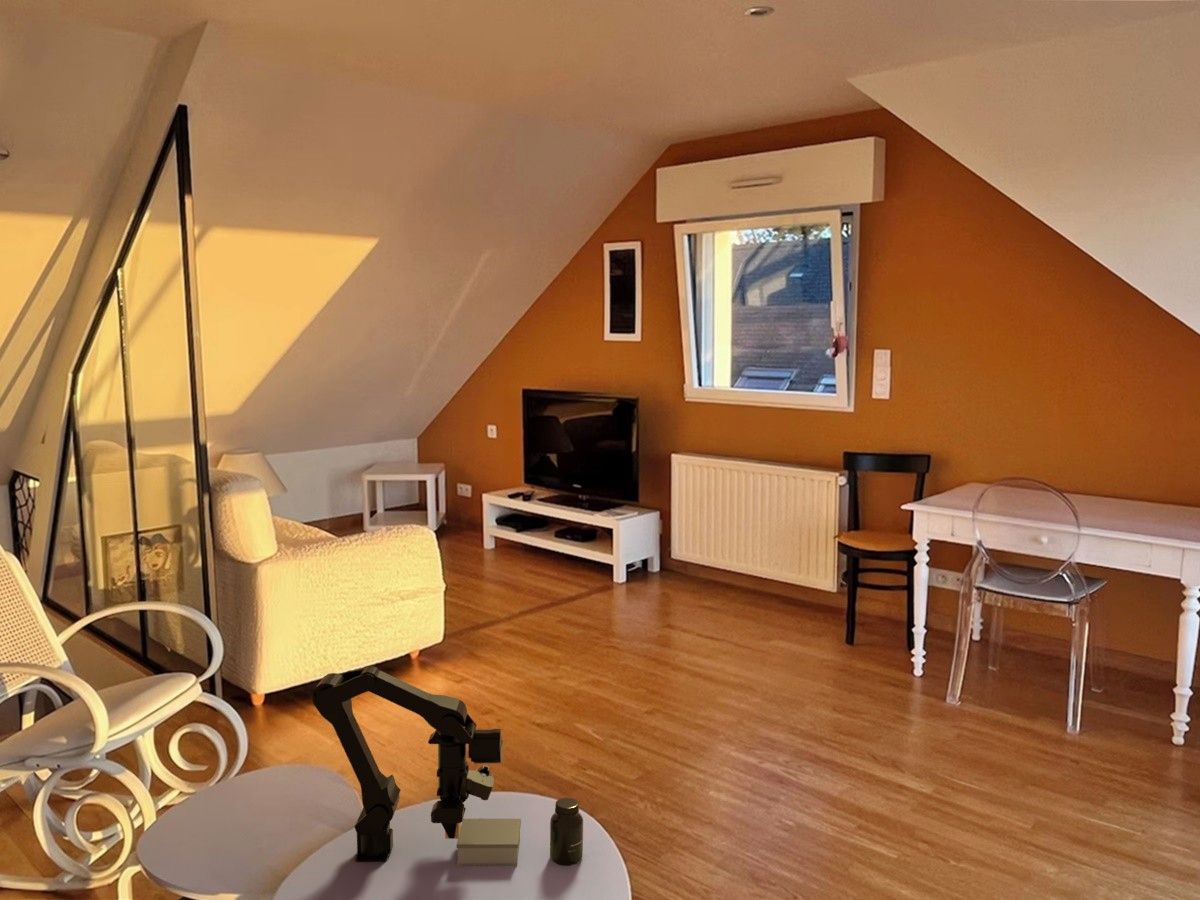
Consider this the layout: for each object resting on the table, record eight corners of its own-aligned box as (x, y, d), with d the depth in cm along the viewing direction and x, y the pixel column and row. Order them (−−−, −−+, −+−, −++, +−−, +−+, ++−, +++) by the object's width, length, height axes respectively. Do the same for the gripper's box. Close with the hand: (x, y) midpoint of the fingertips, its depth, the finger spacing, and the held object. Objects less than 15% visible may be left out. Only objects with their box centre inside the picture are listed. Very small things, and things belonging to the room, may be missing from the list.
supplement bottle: (578, 869, 191) (579, 812, 190) (546, 865, 193) (546, 809, 191) (586, 851, 198) (586, 796, 197) (554, 847, 199) (554, 793, 198)
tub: (457, 866, 192) (457, 847, 191) (463, 840, 202) (463, 822, 201) (517, 866, 192) (517, 847, 192) (520, 840, 202) (520, 822, 201)
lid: (442, 852, 191) (442, 829, 191) (449, 826, 201) (449, 804, 201) (517, 852, 191) (517, 829, 191) (521, 826, 202) (521, 804, 201)
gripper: (487, 783, 185) (487, 858, 187) (495, 742, 204) (495, 811, 206) (430, 783, 185) (431, 858, 187) (443, 743, 204) (444, 811, 205)
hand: (452, 833), depth 196 cm, fingers closed on lid, 3 cm apart
